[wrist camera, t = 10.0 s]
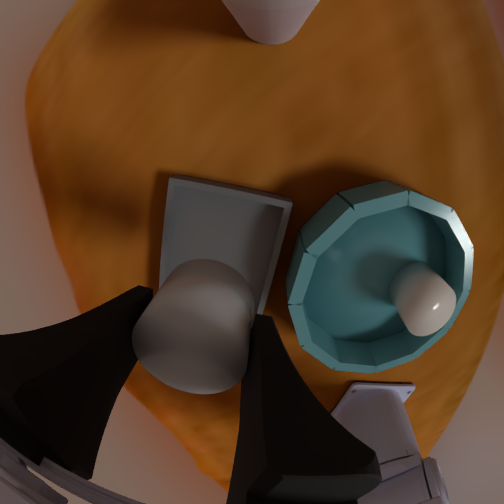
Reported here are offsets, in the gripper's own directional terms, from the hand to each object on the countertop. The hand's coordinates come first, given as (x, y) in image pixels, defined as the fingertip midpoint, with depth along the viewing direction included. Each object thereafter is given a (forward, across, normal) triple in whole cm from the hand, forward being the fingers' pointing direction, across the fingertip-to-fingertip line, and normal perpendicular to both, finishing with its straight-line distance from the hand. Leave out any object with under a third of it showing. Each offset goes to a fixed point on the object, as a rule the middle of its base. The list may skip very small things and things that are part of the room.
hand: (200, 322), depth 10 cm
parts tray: (+9, +1, +3) cm, 9 cm away
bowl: (+9, -11, 0) cm, 14 cm away
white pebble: (+2, 0, 0) cm, 2 cm away
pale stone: (+8, -14, 0) cm, 16 cm away
